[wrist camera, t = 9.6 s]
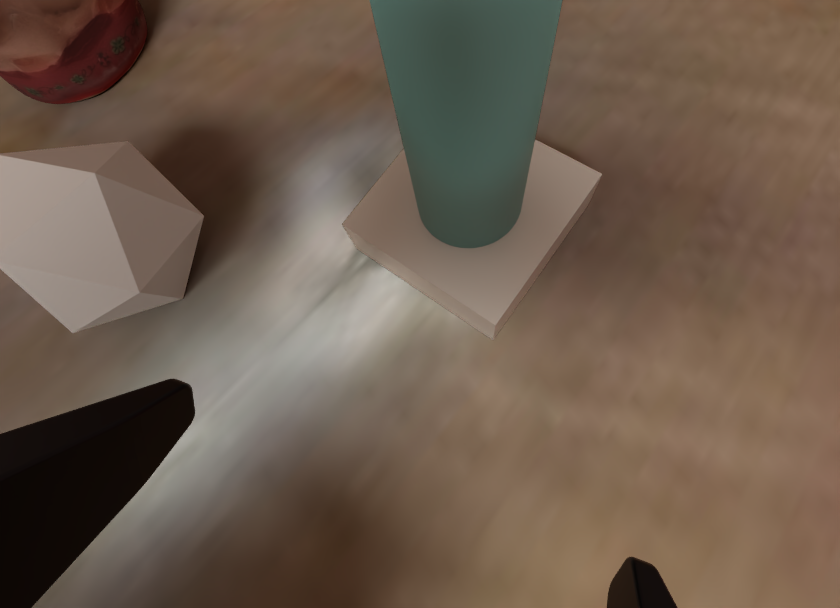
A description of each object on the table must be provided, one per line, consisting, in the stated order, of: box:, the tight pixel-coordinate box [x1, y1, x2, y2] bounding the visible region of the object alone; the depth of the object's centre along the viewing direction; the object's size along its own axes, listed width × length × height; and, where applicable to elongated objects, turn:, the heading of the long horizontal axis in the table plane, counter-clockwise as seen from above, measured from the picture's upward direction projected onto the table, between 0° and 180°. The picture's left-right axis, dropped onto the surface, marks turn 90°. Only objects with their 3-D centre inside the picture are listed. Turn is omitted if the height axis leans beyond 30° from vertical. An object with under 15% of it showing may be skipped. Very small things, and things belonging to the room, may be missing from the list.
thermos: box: [370, 0, 562, 248], centre depth 16 cm, size 5×5×13 cm
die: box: [0, 141, 204, 333], centre depth 23 cm, size 8×9×10 cm
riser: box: [342, 140, 602, 340], centre depth 24 cm, size 9×9×3 cm
